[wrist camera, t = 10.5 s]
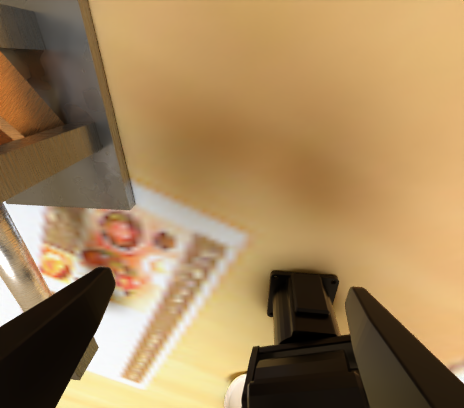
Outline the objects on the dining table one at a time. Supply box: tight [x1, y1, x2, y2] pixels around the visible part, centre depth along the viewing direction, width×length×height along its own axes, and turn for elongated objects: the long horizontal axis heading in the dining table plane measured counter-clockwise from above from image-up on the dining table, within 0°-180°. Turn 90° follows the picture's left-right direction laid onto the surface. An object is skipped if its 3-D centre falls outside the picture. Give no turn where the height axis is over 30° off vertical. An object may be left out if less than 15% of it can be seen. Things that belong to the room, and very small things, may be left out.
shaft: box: [0, 202, 99, 380], centre depth 19 cm, size 19×4×3 cm, turn 1°
